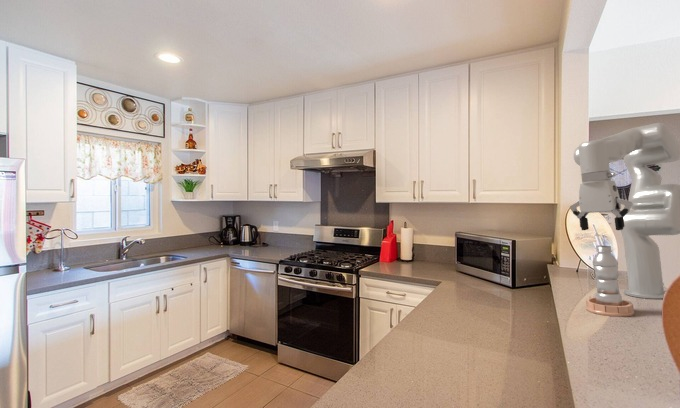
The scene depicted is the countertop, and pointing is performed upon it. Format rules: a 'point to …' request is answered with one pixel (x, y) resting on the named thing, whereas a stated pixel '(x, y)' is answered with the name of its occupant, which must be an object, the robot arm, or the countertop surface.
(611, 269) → the plastic bottle
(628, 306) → the round tray
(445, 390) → the countertop surface
